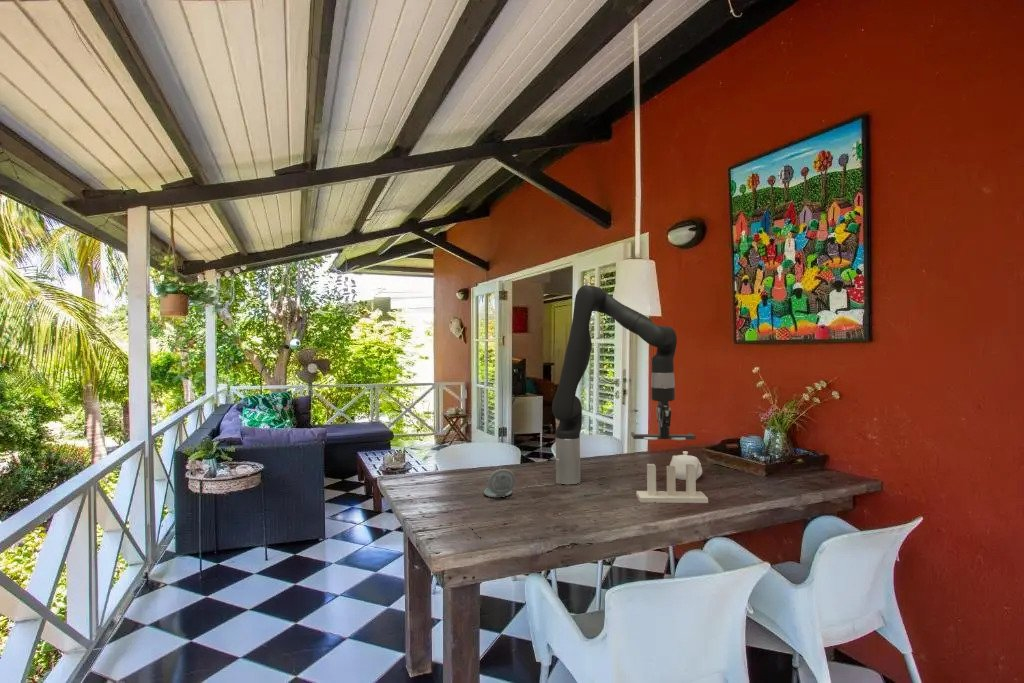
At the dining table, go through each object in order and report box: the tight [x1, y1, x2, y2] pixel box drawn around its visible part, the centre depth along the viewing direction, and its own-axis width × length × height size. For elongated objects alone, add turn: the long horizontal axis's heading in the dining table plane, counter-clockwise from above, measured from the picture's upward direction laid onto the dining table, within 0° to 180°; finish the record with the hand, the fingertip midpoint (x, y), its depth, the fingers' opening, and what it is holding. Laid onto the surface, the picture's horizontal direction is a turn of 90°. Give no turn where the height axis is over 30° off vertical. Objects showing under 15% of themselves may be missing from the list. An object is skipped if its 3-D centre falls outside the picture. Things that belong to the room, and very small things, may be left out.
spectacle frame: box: [630, 421, 697, 441], centre depth 178 cm, size 20×9×5 cm, turn 85°
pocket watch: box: [483, 468, 516, 498], centre depth 186 cm, size 10×11×15 cm
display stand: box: [635, 463, 709, 504], centre depth 178 cm, size 22×8×12 cm, turn 86°
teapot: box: [669, 450, 703, 481], centre depth 205 cm, size 20×12×10 cm, turn 12°
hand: (663, 437), depth 176 cm, fingers closed on spectacle frame, 3 cm apart
